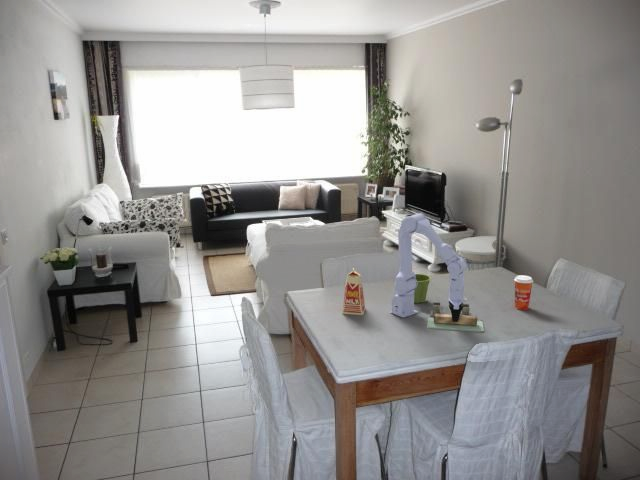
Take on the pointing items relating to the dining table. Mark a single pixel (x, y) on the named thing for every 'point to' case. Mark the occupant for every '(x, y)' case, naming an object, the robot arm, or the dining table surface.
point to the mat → (455, 326)
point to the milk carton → (354, 295)
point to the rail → (462, 320)
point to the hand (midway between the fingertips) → (455, 319)
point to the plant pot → (421, 287)
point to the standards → (437, 311)
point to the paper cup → (522, 291)
